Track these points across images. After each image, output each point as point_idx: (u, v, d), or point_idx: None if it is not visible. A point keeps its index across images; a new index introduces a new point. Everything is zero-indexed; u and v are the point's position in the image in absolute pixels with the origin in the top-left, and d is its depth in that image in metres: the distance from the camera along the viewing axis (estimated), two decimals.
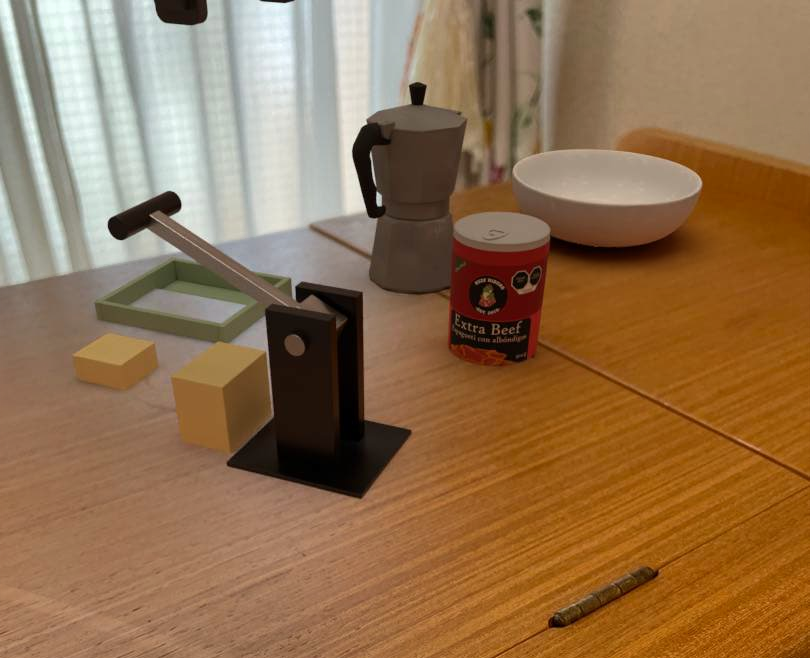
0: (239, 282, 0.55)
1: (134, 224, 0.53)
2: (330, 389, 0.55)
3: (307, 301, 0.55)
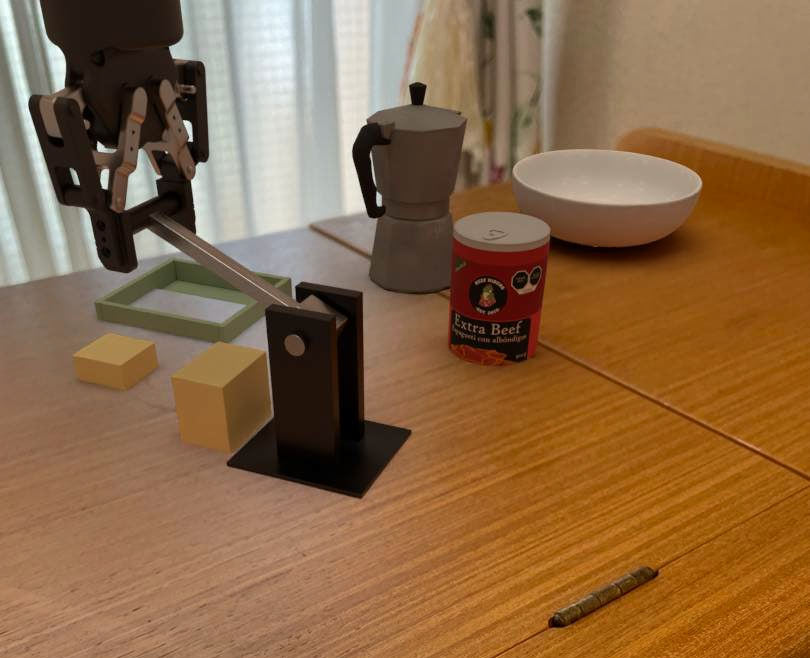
0: (239, 282, 0.55)
1: (134, 224, 0.53)
2: (330, 389, 0.55)
3: (307, 301, 0.55)
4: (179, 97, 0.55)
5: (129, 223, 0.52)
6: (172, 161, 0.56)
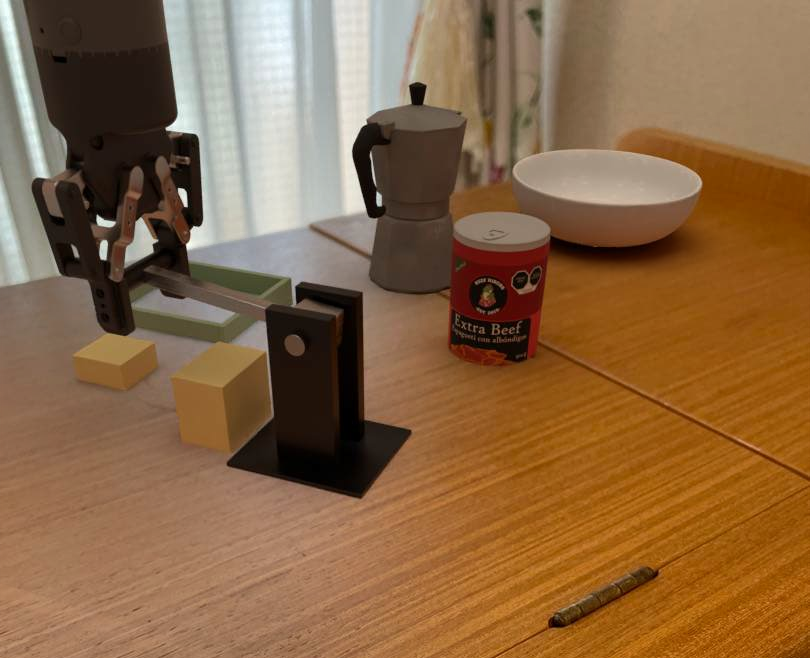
0: (235, 306, 0.56)
1: (128, 279, 0.56)
2: (330, 389, 0.55)
3: (301, 304, 0.55)
4: (174, 167, 0.58)
5: (127, 290, 0.55)
6: (168, 227, 0.59)
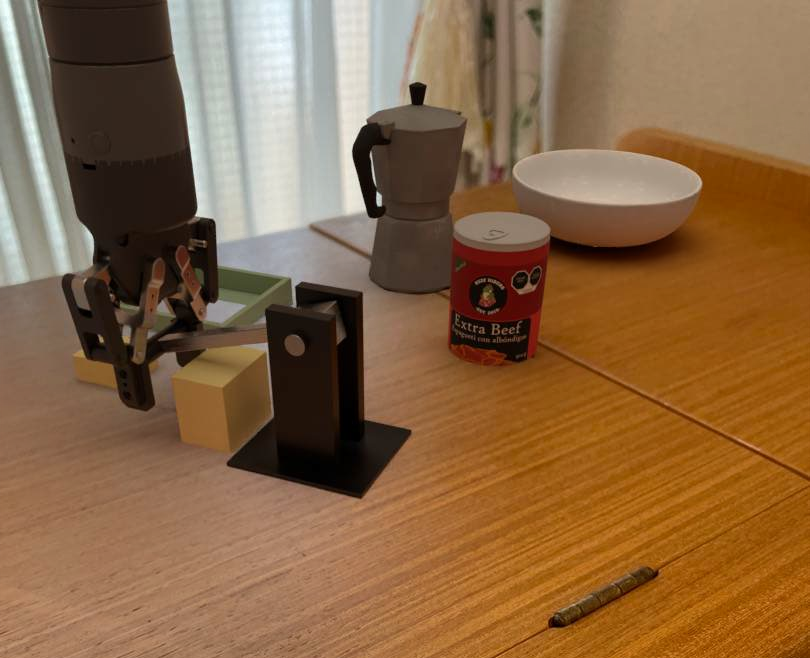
0: (241, 338, 0.57)
1: None
2: (330, 389, 0.55)
3: None
4: (192, 250, 0.61)
5: (148, 370, 0.59)
6: (185, 305, 0.63)
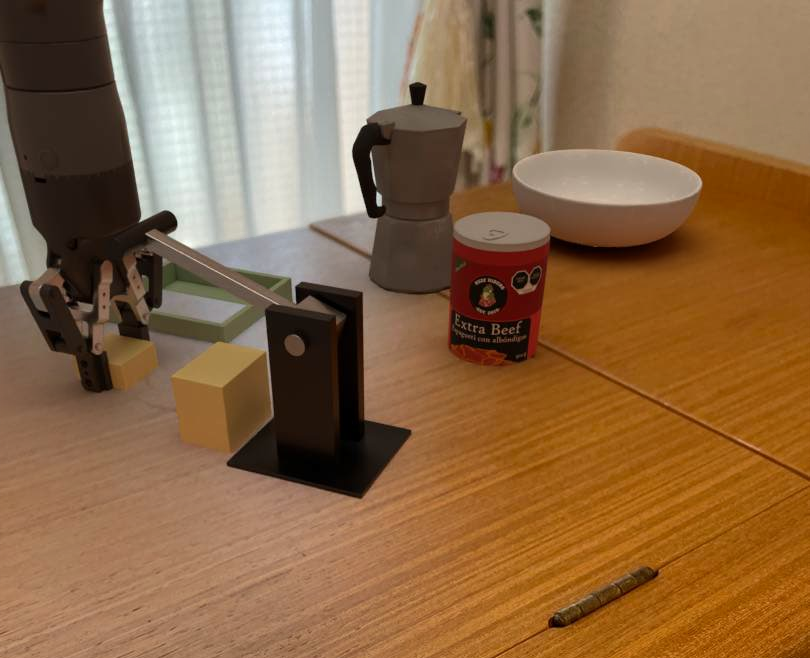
0: (237, 290, 0.55)
1: (130, 243, 0.54)
2: (330, 389, 0.55)
3: (305, 302, 0.55)
4: (139, 257, 0.68)
5: (107, 360, 0.66)
6: (131, 310, 0.69)
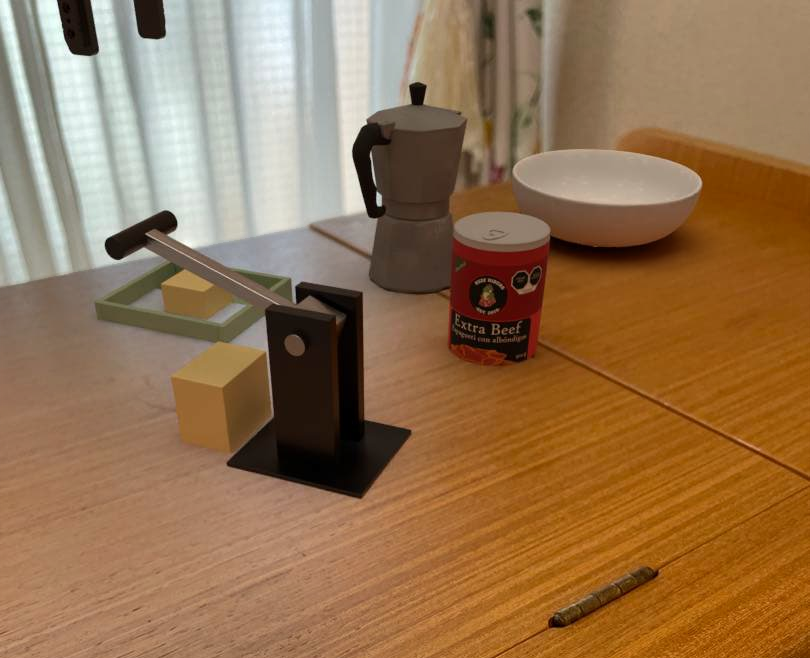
0: (237, 290, 0.55)
1: (130, 243, 0.54)
2: (330, 389, 0.55)
3: (305, 302, 0.55)
4: None
5: (90, 8, 0.62)
6: None
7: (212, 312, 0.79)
